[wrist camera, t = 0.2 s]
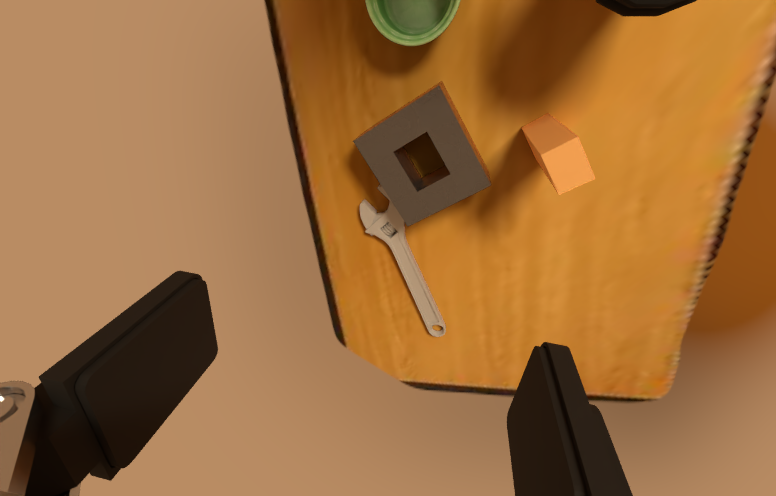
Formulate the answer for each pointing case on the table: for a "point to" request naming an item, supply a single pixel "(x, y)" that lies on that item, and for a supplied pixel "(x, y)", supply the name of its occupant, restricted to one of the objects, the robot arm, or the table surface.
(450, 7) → the ramekin
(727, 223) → the table surface
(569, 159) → the orange square peg
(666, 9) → the coffee cup
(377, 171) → the grey square frame
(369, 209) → the adjustable wrench
